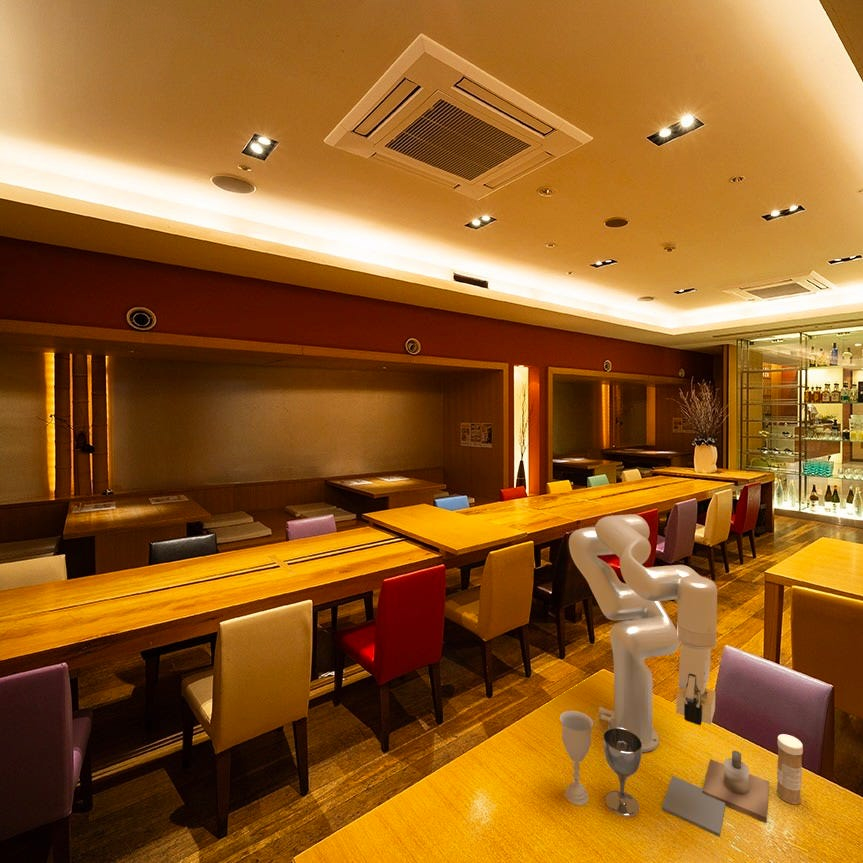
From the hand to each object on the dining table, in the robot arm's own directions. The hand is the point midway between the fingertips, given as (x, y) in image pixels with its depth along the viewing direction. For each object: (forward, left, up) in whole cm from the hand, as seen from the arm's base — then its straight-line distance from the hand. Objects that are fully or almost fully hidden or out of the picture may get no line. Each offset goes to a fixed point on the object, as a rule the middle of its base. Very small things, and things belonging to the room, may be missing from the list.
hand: (695, 712), depth 105 cm
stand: (+7, +10, -21) cm, 25 cm away
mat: (0, 0, -21) cm, 21 cm away
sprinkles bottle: (+17, +15, -22) cm, 31 cm away
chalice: (-22, -13, -22) cm, 34 cm away
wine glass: (-13, -9, -22) cm, 27 cm away
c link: (0, 0, 0) cm, 0 cm away
